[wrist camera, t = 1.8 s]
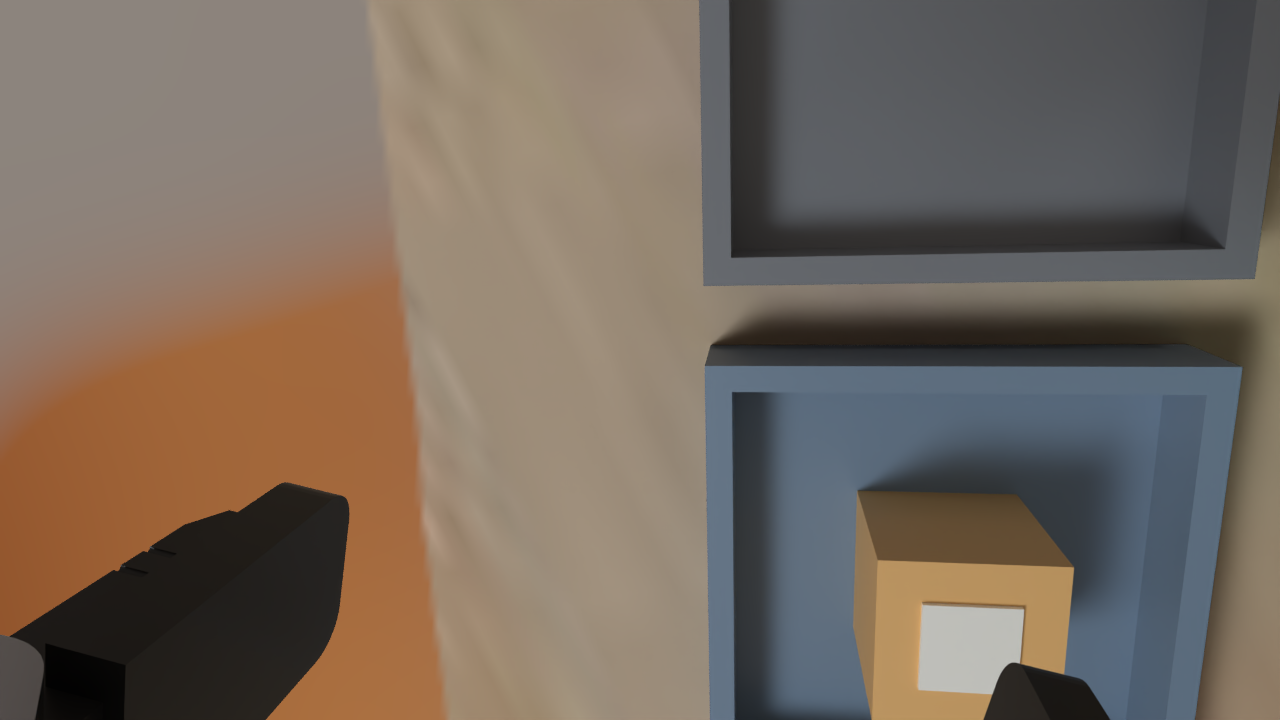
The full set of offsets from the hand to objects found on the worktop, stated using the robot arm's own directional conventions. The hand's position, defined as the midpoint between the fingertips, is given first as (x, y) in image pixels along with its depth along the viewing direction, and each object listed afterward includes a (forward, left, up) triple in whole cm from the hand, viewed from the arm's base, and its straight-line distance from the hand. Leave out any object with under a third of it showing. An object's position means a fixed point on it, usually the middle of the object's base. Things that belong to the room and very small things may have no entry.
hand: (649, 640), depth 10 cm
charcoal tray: (-7, -10, -18) cm, 21 cm away
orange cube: (-7, +7, -17) cm, 20 cm away
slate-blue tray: (-7, +8, -18) cm, 21 cm away
